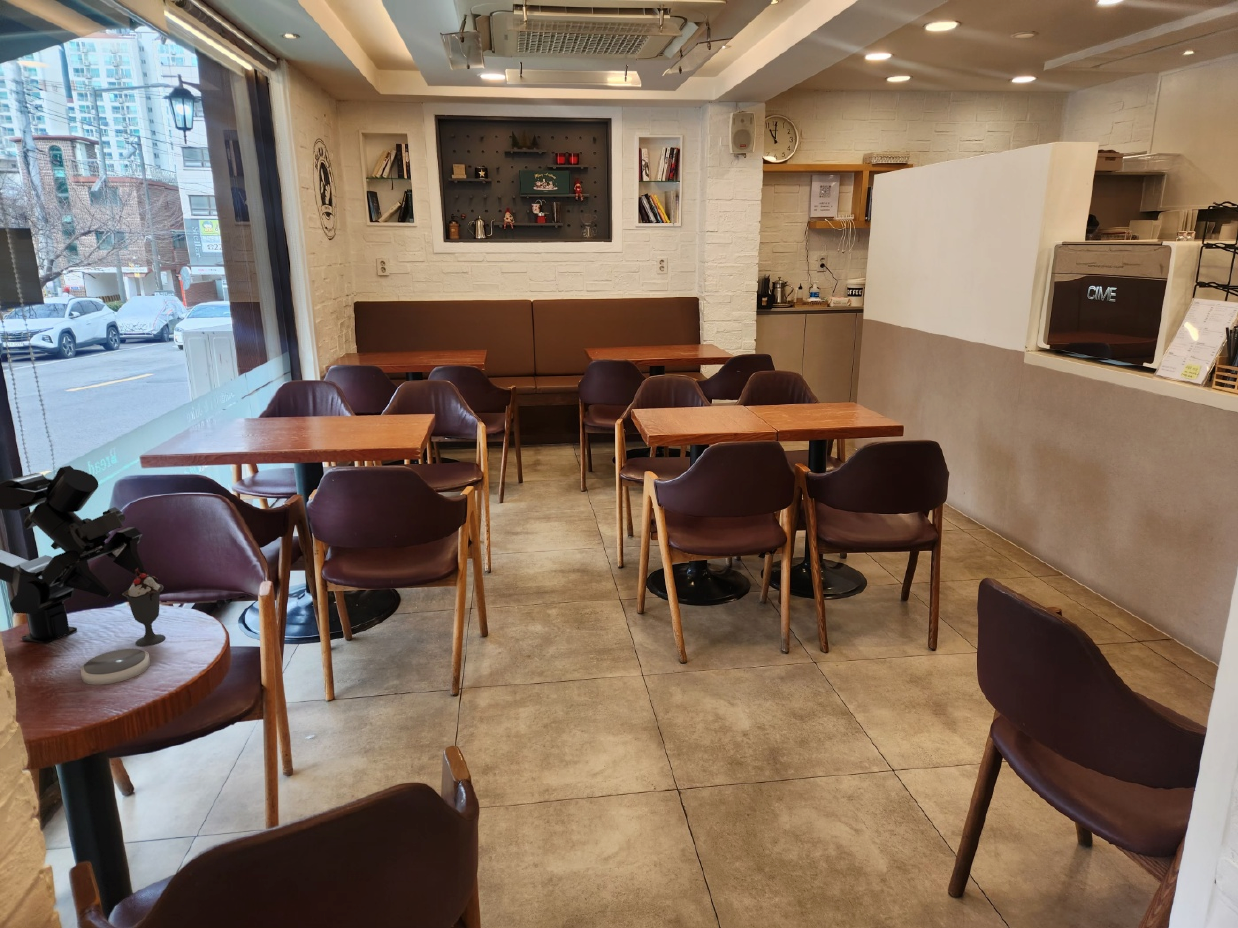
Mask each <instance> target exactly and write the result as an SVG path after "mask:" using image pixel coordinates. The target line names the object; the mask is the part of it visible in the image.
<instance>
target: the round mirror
mask: <svg viewBox="0 0 1238 928" xmlns="http://www.w3.org/2000/svg"><path fill="white" fill-rule="evenodd" d="M150 666H151V661H150V654H149V652H147V651H146V650H143V649H140V648H122V649H115V650H111V651H107V652H104V653H101V654H98V655H96V656H94V657H92V658H89V660H87V661H86V662H85V663H84V664H83V665H82V666H81V668H80V675H81V680H82V682H83V683H85V684H88V685H94V686H95V685H96V686H98V685H101V686H102V685H109V684H114V683H119V682H123V681H125V680H130V679H132V678H134V677H137V676H138V675H140V674H142V673H144V672H145V671H147V670H148V669H149V667H150Z"/></svg>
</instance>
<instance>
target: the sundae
mask: <svg viewBox="0 0 1238 928" xmlns="http://www.w3.org/2000/svg"><path fill="white" fill-rule="evenodd" d="M135 571H136V575H134V576H135V577H134V578H135V579H134V580H133V581H132V583H131V586H130V587H129V588H128V589H126V590H125V591H123V593H122V594H121V595H122V596H124V597H125V598H126V599H127V602H128V604H129V607H130V611H131V614H132V617H133V618H134V620H135V621H136V622H138V623H139V624H142V625H143V626H144V630H145V631H144V635H143V636H142V637H141V638H138V639H137V640H135V643H134V644H135V645H136V646H137V647H149V646H154V645H157V644H159V643H162V642H163V641H165V639H166V636H165V635H164V634H161V633H160V634H159V633H157V634H156V633H155V632H154V629H153V623H154V621H156V620H157V618H158V617H159V616H160V595H161V592H163V590H164V585H163V584H160V583H159V578H157V577H155V576H153V575H151V574H149V573H147V575H146V574H144V573H142V574H141V573H140V572H138V573H140V576H137V571H138V568H137V569H136V570H135Z"/></svg>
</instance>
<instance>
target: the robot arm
mask: <svg viewBox="0 0 1238 928" xmlns="http://www.w3.org/2000/svg"><path fill="white" fill-rule="evenodd" d="M98 488H99V481H98V480H97V477H95V476H94V475H93V474H92V473H88V472H86V471H84V470H81V469H74V468H73V467H72V466H71V465H65V466H62V467H59V469H58V470H57V471H56V474H55V476H54V477H53V478H48V477H46V476H45V475H44V474H43V473H40V472H35V473H34V472H33V473H30V474H27V475H23V476H19V477H15V478H10V479H7V480H4V481H1V482H0V511H1V510H2V511H20V510H23V509H27V508H30V507H34V506H35V507H34V508H33V510H32V511H31V512H26V513H24V522H23V528H24V529H25V530H28V529H32V528H34V527H38V529H39V530H41V532H43V533H44V534H45V535H46V536H47V537H49V539H50V540H51V541H53V542H52V544H51V545H50V547H51V548H52V549H53V550H58V549H60V548H61V550H62V551H64V552H62V553H59V554H56V555H54V556H53V557H52V556H50V555H46V554H45V555H42V556H40V557H36V558H33V559H32V560H28V559H25V558H22V557H19V556H18V555H15V554H12V553H9V552H8V551H5V550H2V549H0V580H2V581H3V582H6V583H8V584H10V585H12V587H13V589H14V591H15V593H16V594H15V596H14V597H13V598H12V599H11V601H9V605H10V606H11V609H12V611H13V613H14V614H25V616H26V621H27V626H28V627H27V628H28V631H29V633H27V634H25V635H22V636H21V640H22V641H28V642H32V643H33V642H34V643H38V644H39V643H40V644H48V643H49V642H52V641H54V640H57V639H59V638H62V637H64V636H67V635H69V634H72V633H74V632H77V631H78V627H76V626H70V625H69V619H68V614H67V610H66V605H65V603H64V602H65V601H66V600H68V599H72V598H74V594H75V589H76V590H79V591H83V592H87V593H90V594H93V595H97V596H101V597H104V598H109V597H110V595H111V594H112V592H111V591H110V590H109V589H108V587H107V586H106V584H104V583H103V582H102V581H101V580H100V579H99V578H98V577H97V576H96V575H95V574H94V573H93V571H91V570H90V565H89V562H92V561H94V560H96V559H98V558H100V557H103V556H107V557H108V558H111V559H114V560H113V561H112V562H113V563H114V564H116V565H117V566H119V567H121V568H123V569H124V570H126V571H128V573H131V574H133V575H134V576H135V575H136V571H135V570H136V569H137V568H138V571H137V577H138V576H140V573H141V574H142V573H144V574H146V575H147V574H148V573H147V570H146V568H145V565H144V564H143V562H142V559H141V558H140V555H139V552H138V544H139V543H140V542H141V537H142V536H143V534H142V532H141V531H140V530H138V528H136V527H134V526H132V527H131V526H128V527H125V528H124V529H121V528H123V527H124V524H123V522H125V521H126V516H125V514H124V513H123V511H121V510H120V509H119V508H117V507H116V506H114V507H111V508H108V509H107V510H105V511H103V512H102V515H100V516H98V517H95V518H93V519H91V518H83V519H82V518H81V517H80V516H79V515H78V514H76V513H75V512H79V511H81V510H82V509H83V507H84V506H85V505H86V504H87V502H88V501H89V500H90V498H91V497H93V494H95V492H96V491H97V489H98ZM117 529H121V530H118V531H116V532H115V533H114V534H113V536H112V537H111V534H110V533H111V532H113V531H114V530H117ZM110 537H111V538H110ZM109 538H110V539H109ZM108 539H109V541H108V542H105V541H106V540H108ZM138 572H140V573H138Z"/></svg>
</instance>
